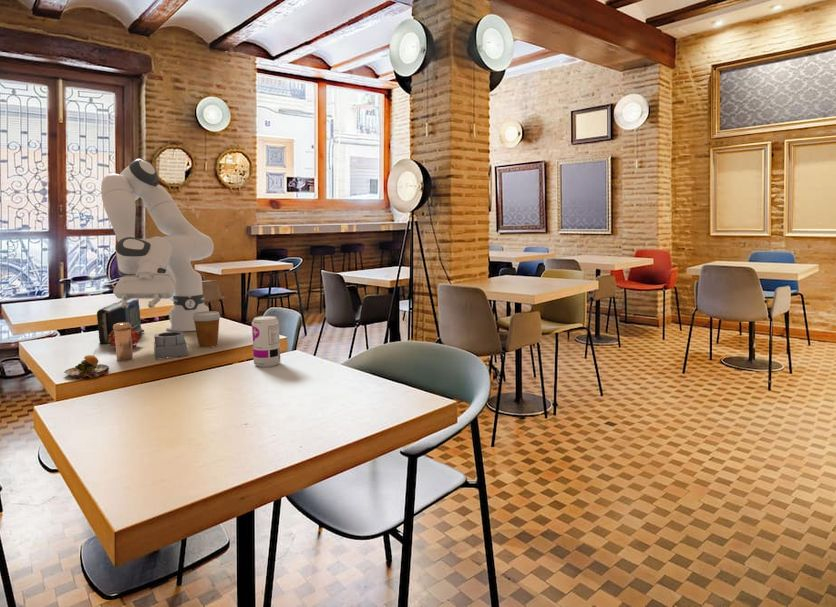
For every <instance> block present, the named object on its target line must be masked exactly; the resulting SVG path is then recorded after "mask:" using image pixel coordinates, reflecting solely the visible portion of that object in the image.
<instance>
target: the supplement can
mask: <svg viewBox="0 0 836 607" xmlns="http://www.w3.org/2000/svg"><path fill="white" fill-rule="evenodd" d="M251 334H252V336H251V337H252V353H253V354H252V355H253V364H254V365H255V366H256V367H260V368H271V366H272V367H276V366H278V365H279V364H280V363H281V345H280V341H281V339H280V338H281V337H280V321H279V319H278V318H277V316H274V315H262V316H256V317H254V318H253V320H252V322H251ZM275 365H276V366H275Z"/></svg>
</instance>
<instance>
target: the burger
mask: <svg viewBox="0 0 836 607" xmlns="http://www.w3.org/2000/svg"><path fill="white" fill-rule="evenodd" d="M95 353H96V349H95V351H94V353H93V355H91V354H88V355H87V354H86V355H84V356H83V358H84V359H83V360H81V361H80V363H78V364H77V365H75V366H74V367H71V368H68V369H66V370H65V371H64V373H65V374H66V375H68V376H69V377H75V379H76V380H84V379H85V377H89V378H90V379H95V378H98V377H99V376H102V375H107V374H108V372H110V366H109V365H106V364H101V363H100V364H99V359H98V358H97V357H96V355H95Z"/></svg>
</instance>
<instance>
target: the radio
mask: <svg viewBox="0 0 836 607" xmlns="http://www.w3.org/2000/svg"><path fill="white" fill-rule="evenodd" d="M139 300H140V299H128V300H126V301H127V302H128V303H129V306H128V308H123V307H122V306H121V304H122V302H123V301H122V299H121V300H120V301H118V302H113V303H112V304H110V305H109V304H108V305H107V306H103V307H101V308H100V309H99V310H97V311H96V320H97V331H98V341H99V343H98V345H101V346H110V344H109V342H108V335H109V334H111V331H113V326H114V324H117V323H130V324H131V330H136V332H138V333H139V334H140V335H141V334H143V333H145V330H144V329H143V328H142V321H141V319H142V318H141V310H140V308H141V307H140V302H139Z"/></svg>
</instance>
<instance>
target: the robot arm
mask: <svg viewBox="0 0 836 607" xmlns="http://www.w3.org/2000/svg"><path fill="white" fill-rule="evenodd" d="M158 176H159V175H158V173H157V170H156V168H155V167H154V165H153V164H152V163H151V162H150V161H147V160H145V159H143V158H137V159H135V160H132V162H130V163H129V165H128V166H126V167H125V168H124V169H123V170H122V171H121V172H120V173H119V174H118V173H111V174H108V175H106V176H104V177H103V178H102V180H101V186H100V188H101V189H100V191H101V199H102V200H101V201H102V203H103V208H104V211H105V213H106V215H107V218H108V220H109V222H110V224H111V227H112V230H113V232H114V234H115V237H116V242H117V243H116V244H115V254H116V255H115V256H116V262H117V271H118V272H117V273H118V275H119V277H120V278H119V280H118V281H117V282H116V284H115V286H114V288H113V290H112V291H113V294H114V296H115V297H116V298H117V299H121V300H122V301H123V302H122V304H121V306H122V307H123V308H128V306H129V303H128V302H127V301H126V300H128V299H139V300H140V299H142V300H143V299H146V300H147V299H151V300H150V301H148V304H147V307H148V308H149V309H154V308H155V307H156V305H157V304H158V303H159V302H160V301H161V300H162V299H163V300H166V299H171V298H172V302H173V306H172V307H171V309H169V310H170V311H169V313H168V318H169V324H168V325H167V326H166V328H165V329H166V331H169V332H173V331H174V332H175V331H176V332H196V328H195V323H194V320H193V318H192V317H193V315H194V313H197V312H205V311H210V310H209V307H208V306H207V305H206V304H205V295H204V293H203V278H202V275H201V274H200V273H199V271H196V270H195V269H194V267H193V265H192V263H191V261H200V260H204V259H207V258H209V257H211V256H212V255H213V252H214V251H215V244H214V241H213V240H212V238H211V237H210V236H209V235H207V234H205V233H203V232H201V231H199V230H198V229H197V228H196V227H195V226H193V225H192V224H191V223H190V222H189V221H188V219H186V218H185V217H184V214H183V213H182V212H181V210H180V209H179V207H178V205H177V204H176V202H175V200H174V199H173V196H172V195H170V193H169V192H168V191H167V190H166V189H165V187H164V186H162V185H160V184H159V183H160V179H159V177H158ZM139 198H140V199H141V200H142V201H143V202H144V205H145V206H144V207H145V208H146V211H147V212H148V214H149V216H150V217H151V219H152V221H153V222H154V224H155V226H156V228H157V230H158V231H160V232H161V233H162V234H164V235H165V236H158V235H157V236H156V235H155V236H152V237H149V238H137V237H136V233H135V231H136V213H137V212H136V211H137V210H136V209H137V206H136V201H137V200H138V199H139Z"/></svg>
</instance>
